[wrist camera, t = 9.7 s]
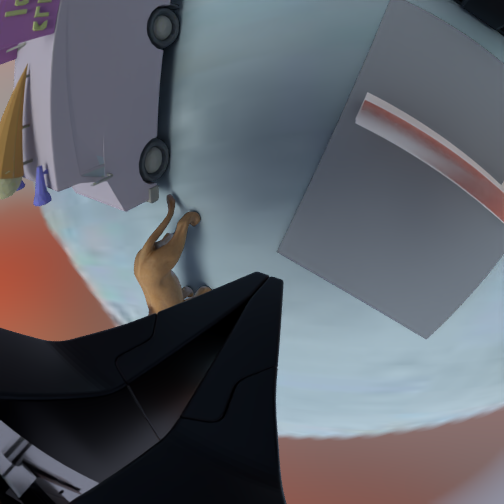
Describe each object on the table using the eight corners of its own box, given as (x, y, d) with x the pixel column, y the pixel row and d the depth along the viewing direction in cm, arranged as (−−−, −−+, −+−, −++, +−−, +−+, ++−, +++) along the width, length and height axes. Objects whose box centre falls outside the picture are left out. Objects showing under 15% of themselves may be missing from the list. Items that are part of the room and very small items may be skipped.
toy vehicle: (113, 176, 26) (-9, 239, 15) (122, 0, 16) (-19, 3, 4) (178, 194, 24) (30, 286, 12) (199, -21, 13) (24, -60, 1)
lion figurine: (234, 325, 29) (187, 388, 22) (194, 318, 31) (146, 372, 24) (195, 189, 23) (113, 234, 16) (152, 195, 25) (77, 236, 18)
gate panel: (497, 188, 12) (524, 211, 8) (488, 204, 13) (512, 231, 9) (368, 102, 14) (365, 98, 10) (360, 120, 14) (354, 122, 11)
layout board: (392, -4, 9) (392, -6, 9) (565, 131, 7) (568, 132, 7) (277, 250, 22) (276, 252, 22) (426, 337, 20) (426, 339, 19)
